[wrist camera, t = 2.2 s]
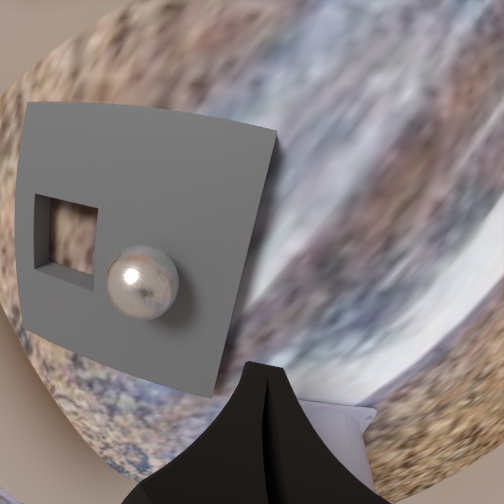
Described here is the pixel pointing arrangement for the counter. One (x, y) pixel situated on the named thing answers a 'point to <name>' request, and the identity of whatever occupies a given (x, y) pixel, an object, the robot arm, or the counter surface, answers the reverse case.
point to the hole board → (139, 229)
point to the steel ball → (142, 282)
